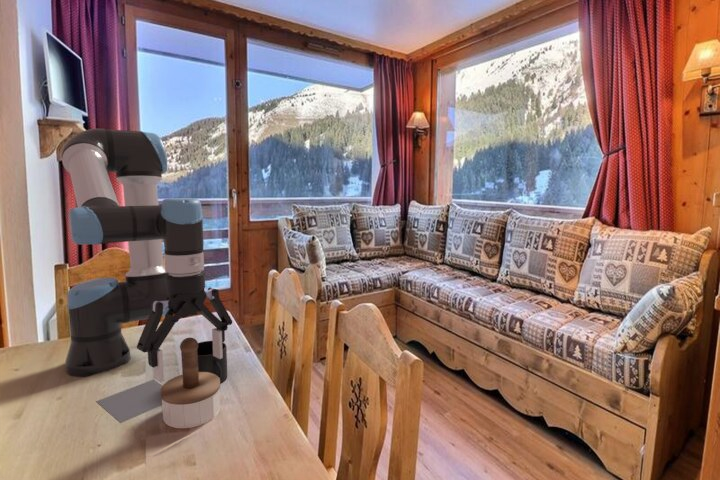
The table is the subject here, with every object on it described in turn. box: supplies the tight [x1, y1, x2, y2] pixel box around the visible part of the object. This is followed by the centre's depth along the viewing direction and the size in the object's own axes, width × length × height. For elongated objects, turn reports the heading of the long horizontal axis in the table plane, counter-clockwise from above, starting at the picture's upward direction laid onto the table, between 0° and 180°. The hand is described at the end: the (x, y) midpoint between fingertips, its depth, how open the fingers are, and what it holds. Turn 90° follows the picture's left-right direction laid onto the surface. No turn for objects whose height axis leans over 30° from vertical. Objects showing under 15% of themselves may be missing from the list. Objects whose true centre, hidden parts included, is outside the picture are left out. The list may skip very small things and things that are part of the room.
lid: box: [161, 337, 221, 405], centre depth 87 cm, size 12×12×12 cm
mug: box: [197, 340, 228, 385], centre depth 102 cm, size 9×12×9 cm
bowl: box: [161, 387, 221, 429], centre depth 88 cm, size 12×12×6 cm
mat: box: [95, 379, 163, 424], centre depth 93 cm, size 13×13×1 cm
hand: (190, 367), depth 87 cm, fingers open, 13 cm apart
